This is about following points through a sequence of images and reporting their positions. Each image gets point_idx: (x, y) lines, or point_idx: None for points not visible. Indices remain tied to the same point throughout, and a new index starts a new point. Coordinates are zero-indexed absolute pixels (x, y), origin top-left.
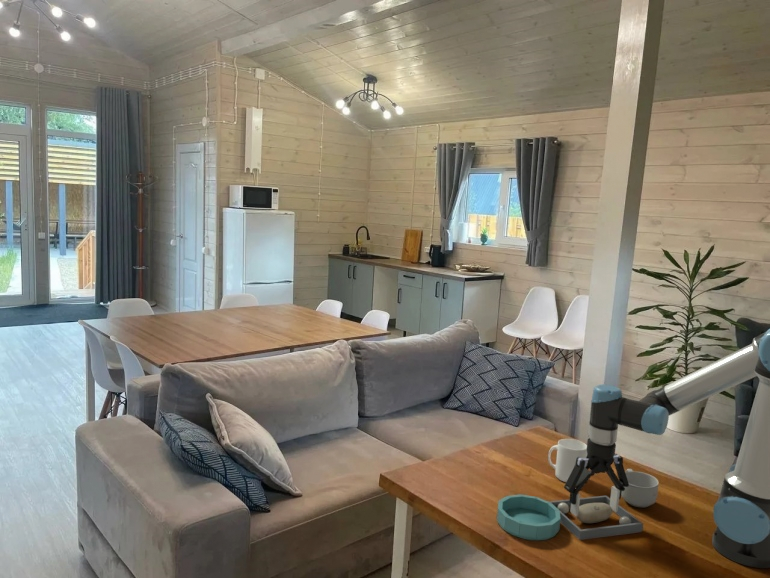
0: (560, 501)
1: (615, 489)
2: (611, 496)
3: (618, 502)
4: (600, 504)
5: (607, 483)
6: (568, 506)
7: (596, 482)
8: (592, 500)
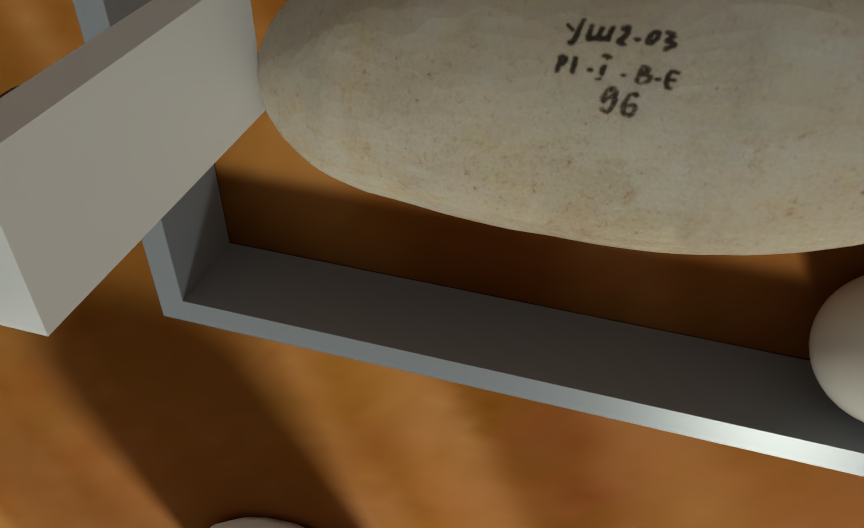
0: (842, 450)
1: (12, 228)
2: (162, 193)
3: (114, 26)
4: (455, 129)
5: (52, 432)
6: (843, 341)
7: (130, 471)
8: (361, 318)
